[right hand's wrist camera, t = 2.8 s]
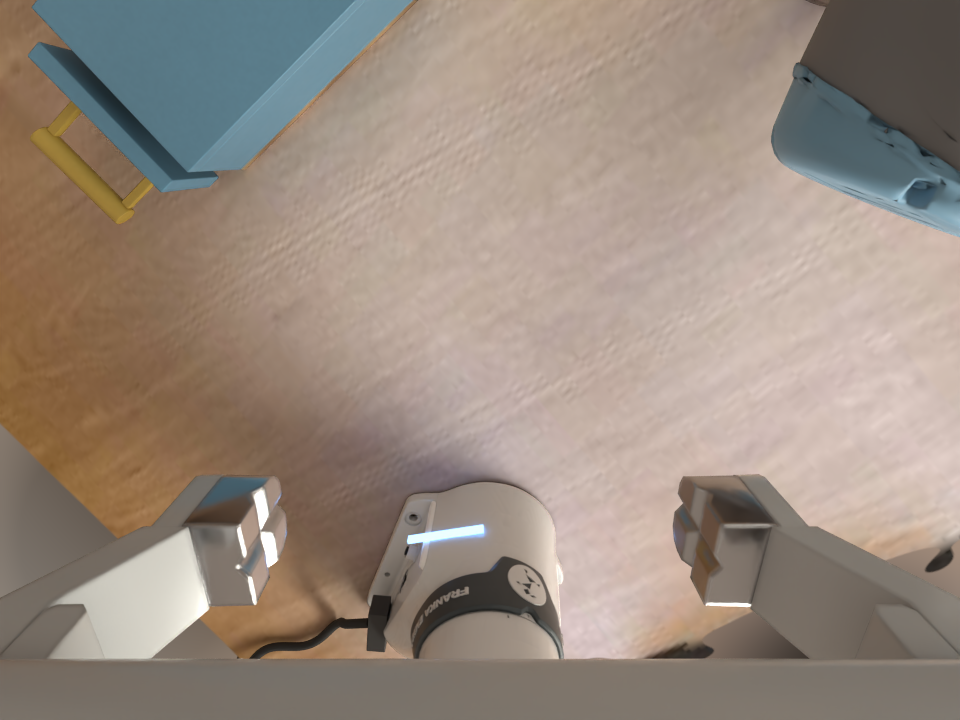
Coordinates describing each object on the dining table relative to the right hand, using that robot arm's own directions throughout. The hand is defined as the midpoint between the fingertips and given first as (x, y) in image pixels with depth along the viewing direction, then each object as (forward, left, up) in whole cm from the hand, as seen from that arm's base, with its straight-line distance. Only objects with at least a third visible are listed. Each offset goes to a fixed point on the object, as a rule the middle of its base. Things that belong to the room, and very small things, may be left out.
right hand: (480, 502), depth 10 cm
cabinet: (+6, +20, -34) cm, 40 cm away
